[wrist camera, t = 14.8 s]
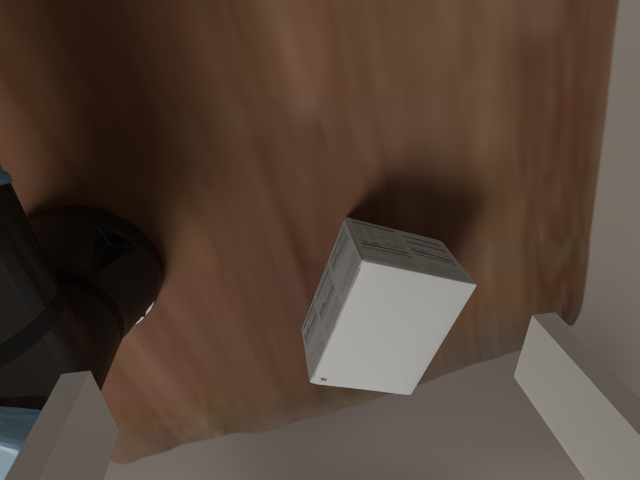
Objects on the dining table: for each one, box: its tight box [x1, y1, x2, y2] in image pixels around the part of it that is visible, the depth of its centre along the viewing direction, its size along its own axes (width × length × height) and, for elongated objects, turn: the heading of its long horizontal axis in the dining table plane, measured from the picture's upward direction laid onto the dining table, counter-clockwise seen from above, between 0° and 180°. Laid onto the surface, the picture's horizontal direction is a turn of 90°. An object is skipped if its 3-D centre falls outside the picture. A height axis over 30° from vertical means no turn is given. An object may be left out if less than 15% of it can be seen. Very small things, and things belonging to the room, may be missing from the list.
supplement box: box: [302, 217, 477, 395], centre depth 46 cm, size 17×13×9 cm
